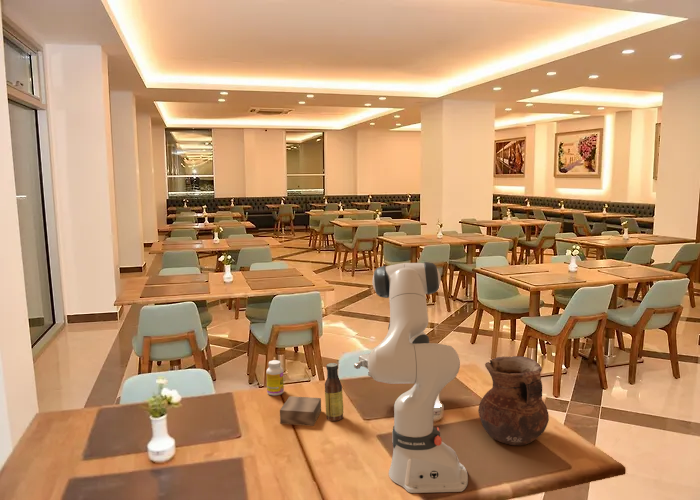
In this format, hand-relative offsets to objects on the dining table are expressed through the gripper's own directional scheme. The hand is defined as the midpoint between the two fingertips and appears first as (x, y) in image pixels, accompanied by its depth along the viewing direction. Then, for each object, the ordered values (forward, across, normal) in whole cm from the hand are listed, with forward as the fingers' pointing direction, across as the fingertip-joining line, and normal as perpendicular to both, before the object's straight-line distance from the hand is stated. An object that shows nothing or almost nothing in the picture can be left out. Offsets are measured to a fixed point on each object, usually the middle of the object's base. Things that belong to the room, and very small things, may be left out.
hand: (362, 370), depth 198 cm
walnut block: (+22, -7, +15) cm, 28 cm away
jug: (-30, +45, +15) cm, 56 cm away
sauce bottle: (+12, 0, +15) cm, 20 cm away
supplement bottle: (+20, -32, +16) cm, 41 cm away
